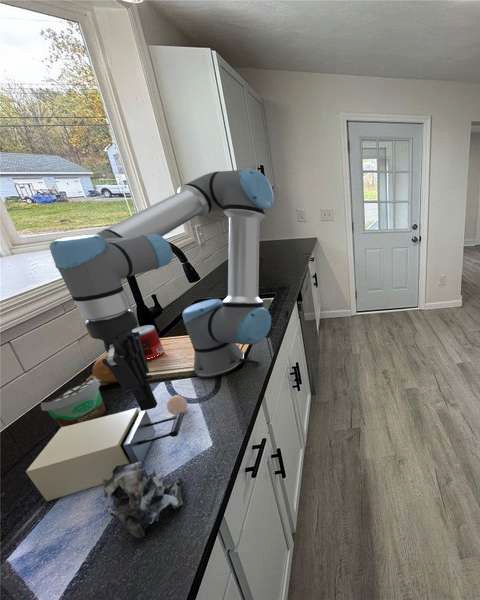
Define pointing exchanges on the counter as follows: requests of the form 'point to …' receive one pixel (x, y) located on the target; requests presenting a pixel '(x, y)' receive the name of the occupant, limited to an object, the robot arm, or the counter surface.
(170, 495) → the foil
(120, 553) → the counter surface
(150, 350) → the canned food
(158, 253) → the robot arm
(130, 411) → the cream drawer box
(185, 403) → the egg
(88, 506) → the counter surface
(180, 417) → the grey drawer
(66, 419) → the food container
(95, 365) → the onion
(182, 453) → the counter surface
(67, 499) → the counter surface
